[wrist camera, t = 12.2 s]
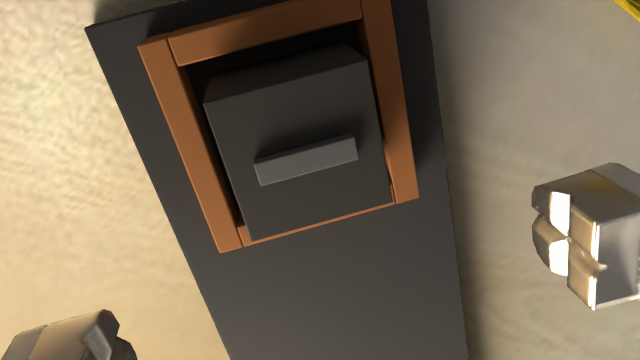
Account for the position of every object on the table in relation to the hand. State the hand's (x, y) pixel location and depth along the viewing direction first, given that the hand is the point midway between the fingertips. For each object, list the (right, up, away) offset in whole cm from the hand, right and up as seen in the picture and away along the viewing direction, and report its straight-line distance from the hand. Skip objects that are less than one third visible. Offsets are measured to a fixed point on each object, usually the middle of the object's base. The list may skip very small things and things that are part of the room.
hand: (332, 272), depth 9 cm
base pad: (+1, -5, +15) cm, 16 cm away
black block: (-1, +4, +9) cm, 10 cm away
